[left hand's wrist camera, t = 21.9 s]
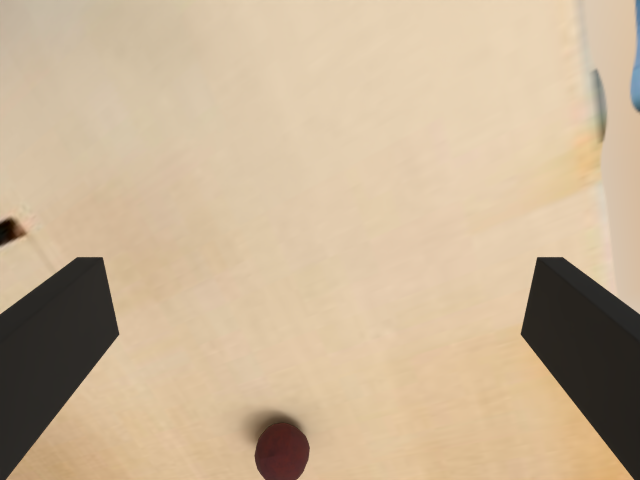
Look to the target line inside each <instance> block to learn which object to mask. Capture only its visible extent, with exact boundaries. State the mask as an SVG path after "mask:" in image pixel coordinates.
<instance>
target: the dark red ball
mask: <svg viewBox="0 0 640 480" xmlns="http://www.w3.org/2000/svg"><path fill="white" fill-rule="evenodd" d="M309 449H310V447H309V443H308V440H307V438H306V436H305V435H304V434H303V433H302V432H301V431H300V430H299V429H298V428H296V427H294V426H292V425H290V424H288V423H278V424H274V425H272V426H270V427H268V428H267V429H266V430H265V431H264V433H263V434H262V435H261V437H260V438H259V440H258V443H257V446H256V451H255V462H256V465H257V469H258V471H259V472H260V474H261V475H262V476H263V477H264V479H265V480H297V479H298V478H299V477H300V476H301V474H302V473H303V471H304V469H305V466H306V464H307V461H308V458H309Z"/></svg>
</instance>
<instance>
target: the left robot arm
mask: <svg viewBox="0 0 640 480" xmlns="http://www.w3.org/2000/svg"><path fill="white" fill-rule="evenodd" d="M118 335H119V331H118V326H117V321H116V317H115V312H114V307H113V303H112V298H111V294H110V289H109V284H108V280H107V275H106V270H105V266H104V261H103V257H77V258H76V259H74V260H73V261H72V262H70V263H69V264H68V265H66V266H65V267H64V268H62V269H61V270H60V271H58V272H57V273H55V274H54V275H53V276H51V277H50V278H49V279H47V280H46V281H45V282H43V283H42V284H41V285H39V286H38V287H37V288H35V289H34V290H33V291H31V292H30V293H28V294H27V295H26V296H24V297H23V298H22V299H20V300H19V301H18V302H16V303H15V304H14V305H12V306H11V307H10V308H8V309H7V310H6V311H4V312H3V313H2V314H0V480H6V479H7V477H8V476H9V475H10V474H11V472H12V471H13V470H14V468H15V467H16V466H17V465H18V463H19V462H20V461H21V459H22V458H23V457H24V456H25V454H26V453H27V452H28V451H29V449H30V448H31V447H32V445H33V444H34V443H35V442H36V440H37V439H38V438H39V436H40V435H41V434H42V433H43V431H44V430H45V429H46V427H47V426H48V425H49V424H50V422H51V421H52V420H53V419H54V417H55V416H56V415H57V413H58V412H59V411H60V410H61V408H62V407H63V406H64V404H65V403H66V402H67V401H68V399H69V398H70V397H71V396H72V394H73V393H74V392H75V390H76V389H77V388H78V387H79V385H80V384H81V383H82V381H83V380H84V379H85V378H86V376H87V375H88V374H89V372H90V371H91V370H92V369H93V367H94V366H95V365H96V364H97V362H98V361H99V360H100V358H101V357H102V356H103V355H104V353H105V352H106V351H107V349H108V348H109V347H110V346H111V344H112V343H113V342H114V340H115V339H116V338H117V337H118ZM521 335H522V337H523V338H524V339H525V340H526V342H527V343H528V344H529V346H530V347H531V348H532V349H533V351H534V352H535V353H536V355H537V356H538V357H539V358H540V360H541V361H542V362H543V364H544V365H545V366H546V367H547V369H548V370H549V371H550V372H551V374H552V375H553V376H554V378H555V379H556V380H557V381H558V383H559V384H560V385H561V387H562V388H563V389H564V390H565V392H566V393H567V394H568V396H569V397H570V398H571V399H572V401H573V402H574V403H575V404H576V406H577V407H578V408H579V410H580V411H581V412H582V413H583V415H584V416H585V417H586V419H587V420H588V421H589V422H590V424H591V425H592V426H593V427H594V429H595V430H596V431H597V433H598V434H599V435H600V436H601V438H602V439H603V440H604V442H605V443H606V444H607V445H608V447H609V448H610V449H611V451H612V452H613V453H614V454H615V456H616V457H617V458H618V459H619V461H620V462H621V463H622V465H623V466H624V467H625V468H626V470H627V471H628V472H629V474H630V475H631V476H632V477H633V479H634V480H640V314H638V313H637V312H636V311H634V310H633V309H632V308H630V307H629V306H628V305H626V304H625V303H624V302H622V301H621V300H620V299H618V298H617V297H616V296H614V295H613V294H611V293H610V292H609V291H607V290H606V289H605V288H603V287H602V286H601V285H599V284H598V283H597V282H595V281H594V280H593V279H591V278H590V277H589V276H587V275H586V274H585V273H583V272H582V271H580V270H579V269H578V268H576V267H575V266H574V265H572V264H571V263H570V262H568V261H567V260H566V259H564V258H563V257H537V261H536V266H535V270H534V275H533V280H532V284H531V289H530V294H529V298H528V303H527V307H526V312H525V317H524V321H523V326H522V331H521Z"/></svg>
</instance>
